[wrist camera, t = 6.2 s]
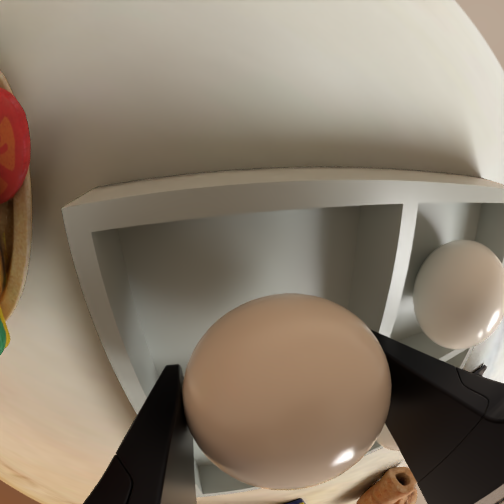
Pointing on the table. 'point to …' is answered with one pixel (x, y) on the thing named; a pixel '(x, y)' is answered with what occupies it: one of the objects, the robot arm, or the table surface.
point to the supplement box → (297, 502)
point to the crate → (263, 257)
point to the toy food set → (13, 205)
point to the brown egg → (286, 391)
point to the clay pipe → (392, 488)
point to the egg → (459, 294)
